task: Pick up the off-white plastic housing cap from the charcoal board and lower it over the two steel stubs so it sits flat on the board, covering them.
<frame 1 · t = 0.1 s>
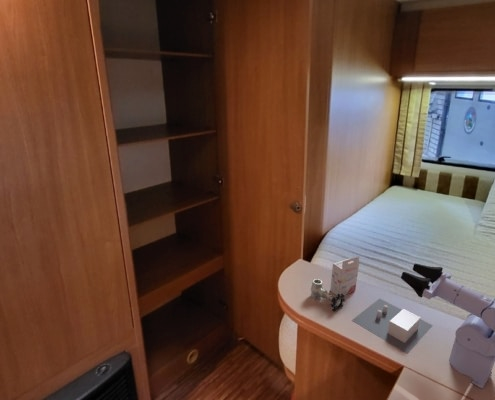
hand: (408, 270, 96), 22 cm above the shelf, tool horizontal, fingers open, 7 cm apart
ink cartridge box: (342, 291, 123), on the shelf
housing: (402, 331, 102), point 1 cm above the shelf, touching board
board: (391, 325, 105), on the shelf
valve: (324, 303, 116), on the shelf
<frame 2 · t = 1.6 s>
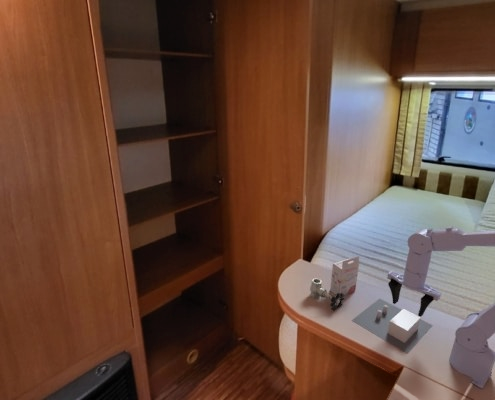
hand: (407, 308, 99), 9 cm above the shelf, tool pointing down, fingers open, 7 cm apart
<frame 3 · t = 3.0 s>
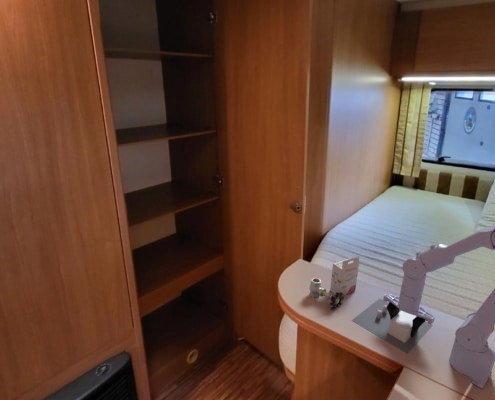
hand: (403, 330, 101), 1 cm above the shelf, tool pointing down, fingers closed on housing, 5 cm apart
housing: (402, 331, 102), point 1 cm above the shelf, touching board, gripper
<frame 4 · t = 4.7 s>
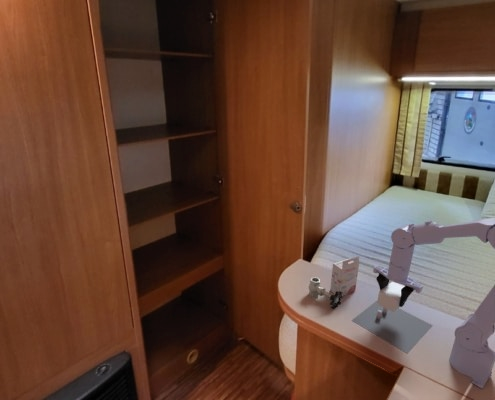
hand: (392, 300, 104), 9 cm above the shelf, tool pointing down, fingers closed on housing, 5 cm apart
housing: (392, 302, 104), point 8 cm above the shelf, touching gripper
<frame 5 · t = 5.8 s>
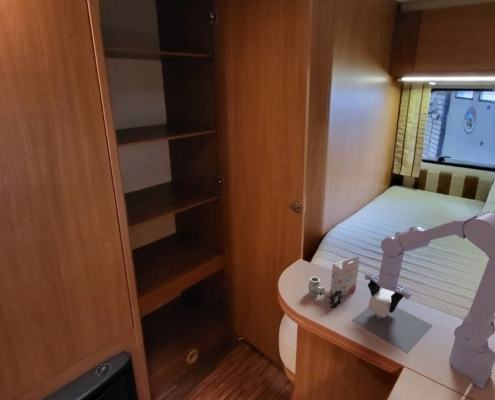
hand: (383, 306, 107), 4 cm above the shelf, tool pointing down, fingers closed on housing, 5 cm apart
housing: (382, 307, 108), point 4 cm above the shelf, touching gripper
when the fingers open (3 cm above the shelf, at t = 6.6 s): housing drops 2 cm, resting on board.
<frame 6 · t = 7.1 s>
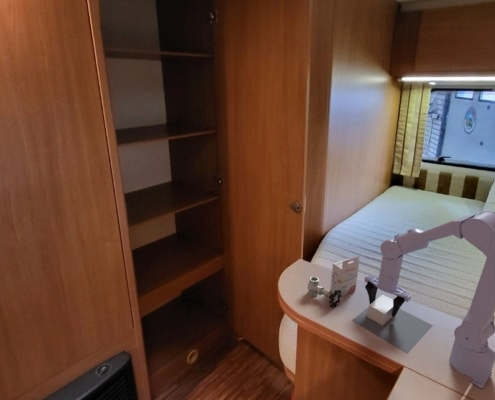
hand: (382, 309, 108), 3 cm above the shelf, tool pointing down, fingers open, 7 cm apart
housing: (381, 315, 108), point 1 cm above the shelf, touching board
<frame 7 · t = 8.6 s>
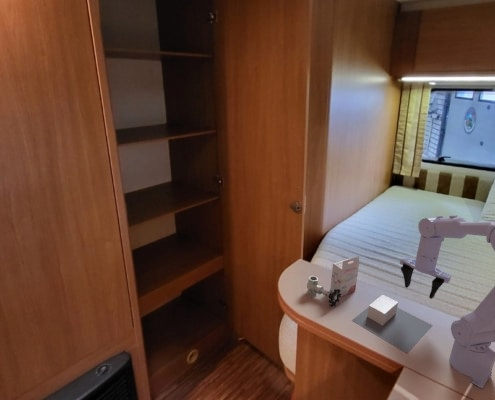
hand: (419, 291, 105), 10 cm above the shelf, tool pointing down, fingers open, 7 cm apart
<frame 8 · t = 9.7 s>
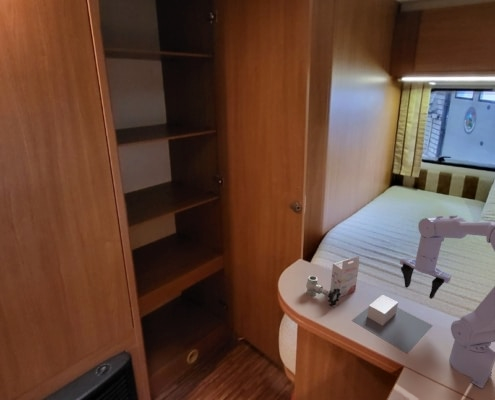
hand: (419, 291, 105), 10 cm above the shelf, tool pointing down, fingers open, 7 cm apart
at the end: housing 0.0 cm from the target spot on the board, point 1.0 cm above the board's base; housing tilted 0°; the gripper is holding nothing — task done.
